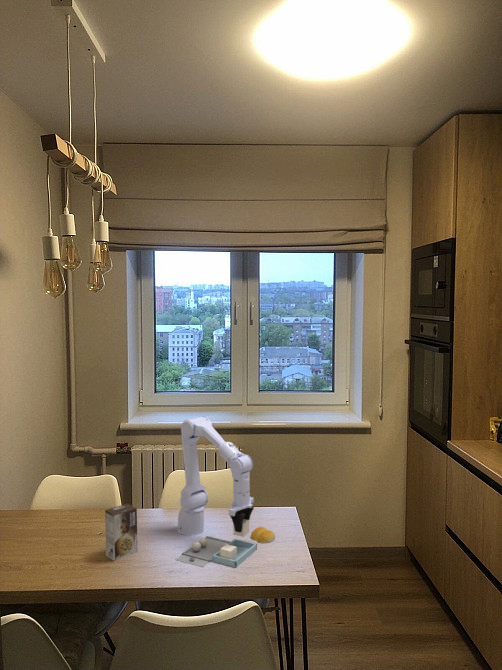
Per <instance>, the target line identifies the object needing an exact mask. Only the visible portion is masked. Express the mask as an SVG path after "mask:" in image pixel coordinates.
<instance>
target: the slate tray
mask: <svg viewBox="0 0 502 670" xmlns="http://www.w3.org/2000/svg"><path fill="white" fill-rule="evenodd" d="M204 538H206V539H207V545H206V546H205V547H201V549H200V550H199V551H197V552H196V551H194V550H193V549H192V546H190V547H188V548H187V549H185V550H184V551H183V552H182V553H181V555H179V556H178V557H177V558H174V559H175V561H177V562H182V563H184V564H189V565H193V566H196V567H198V568H199V567H200V568H204V567H205V566H206V565H208V564H209V563H212V562H213V560H212V556H213V555H214V554H215V553H217V552H218V551H219V550H220V549H221V548H222V547H223V546H225V545H226V544H228V543H230V542H231V541H232V540H231V541H230V540H226V539H222V538H217V537H214V536H213V537H212V536H209V535H206V536H205V537H204Z"/></svg>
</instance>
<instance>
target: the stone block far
mask: <svg viewBox="0 0 502 670" xmlns="http://www.w3.org/2000/svg"><path fill="white" fill-rule="evenodd" d="M232 533H233V535H234V536H238V537H243V538H244V537H245V536H247V535H248V534H249V533H250V519H249V520H246V519H243V524H242V531H241V532H236V531H235V528H234V527H233V532H232Z"/></svg>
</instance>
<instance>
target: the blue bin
mask: <svg viewBox="0 0 502 670" xmlns="http://www.w3.org/2000/svg"><path fill="white" fill-rule="evenodd" d="M228 545H231V546H235V547H237V559H236V560H231V559H227V558H223V557H220V550H219V551H218V552H217V553H215V554H214V555H213V556H212V563H217V564H221V565H223V566H226V567H230V568H231V567H232V568H235V569H237V567H238V566H240V565H241V564H242V563H243V562H244V561H246V560H247V559H249V557H251V556H252V555H253V554H254V553H255V552H256V551H257V550H258V544H257V543H255V542H250V541H246V540H241V539H237V538H234V539H232V540H231V542H230V543H228Z"/></svg>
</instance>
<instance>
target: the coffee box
mask: <svg viewBox="0 0 502 670" xmlns="http://www.w3.org/2000/svg"><path fill="white" fill-rule="evenodd" d="M104 511H105V515H104V516H105V557H107V558H109V559H110V560H112V561H113V562H117V561H118V560H121V559H123V558H125V557H128V556H131V555H134V554H136V553H139V552H138V551H139V550H138V547H139V546H138V512H137V511H138V509H137V507H135V506H133V505H131V504H129V503H125V504H121V505H119V506H115V507H112V508H111V507H110V508H108V509H105V510H104Z"/></svg>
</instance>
